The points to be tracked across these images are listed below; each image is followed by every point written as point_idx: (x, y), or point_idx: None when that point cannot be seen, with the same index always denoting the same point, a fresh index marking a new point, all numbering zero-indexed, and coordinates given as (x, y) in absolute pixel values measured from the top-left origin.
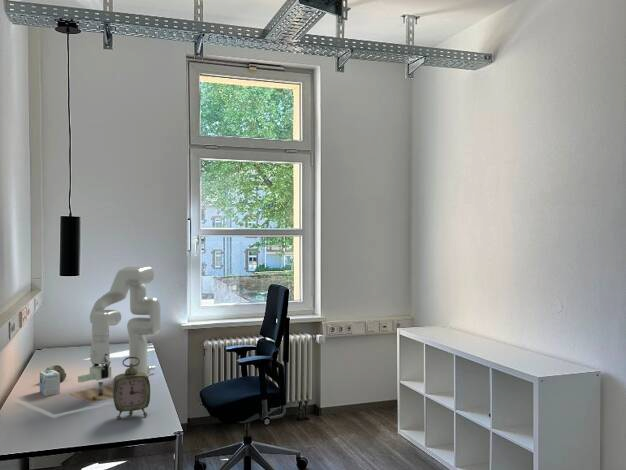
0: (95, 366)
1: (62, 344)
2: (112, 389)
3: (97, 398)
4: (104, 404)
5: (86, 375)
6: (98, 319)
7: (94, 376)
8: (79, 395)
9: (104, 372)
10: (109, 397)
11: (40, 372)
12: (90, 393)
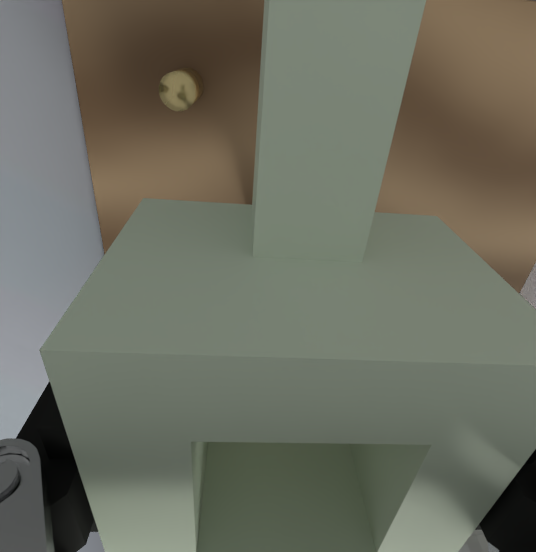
0: (498, 485)
1: None
2: None
3: (181, 123)
4: (7, 89)
5: (308, 11)
6: None
7: (252, 230)
8: (469, 69)
9: (44, 397)
10: (124, 218)
11: None
12: (414, 191)
